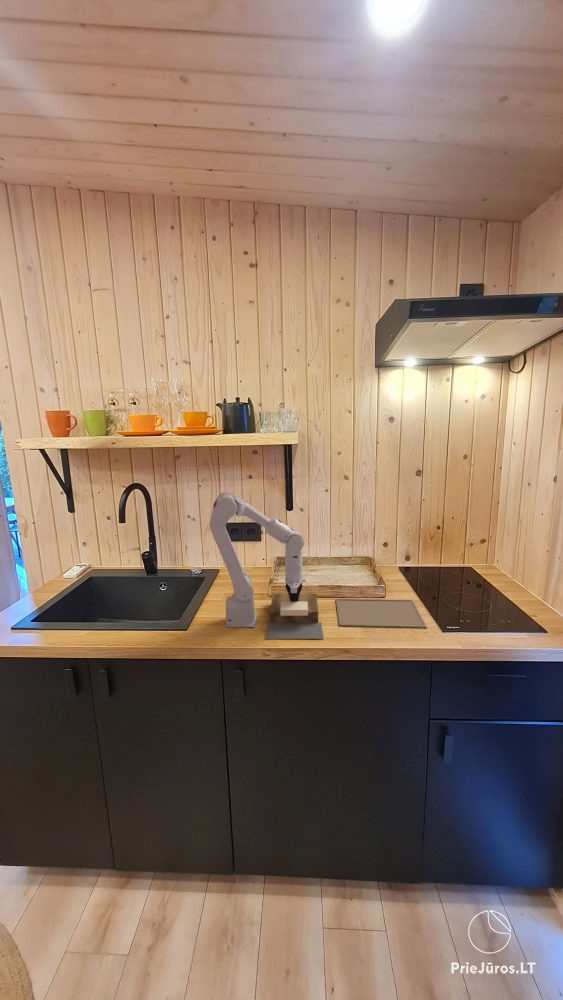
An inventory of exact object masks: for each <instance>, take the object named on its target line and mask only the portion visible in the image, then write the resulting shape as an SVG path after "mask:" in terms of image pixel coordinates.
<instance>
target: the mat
mask: <svg viewBox="0 0 563 1000" xmlns="http://www.w3.org/2000/svg"><path fill="white" fill-rule="evenodd" d="M266 623H267V624H266V630H265V639H264V640H295V639H315V641H316V639H319V640H322V641H323V640H324V633H323V625H322V624H323V623H322V622H320V621H318V622H270V621H269V622H266Z"/></svg>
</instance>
